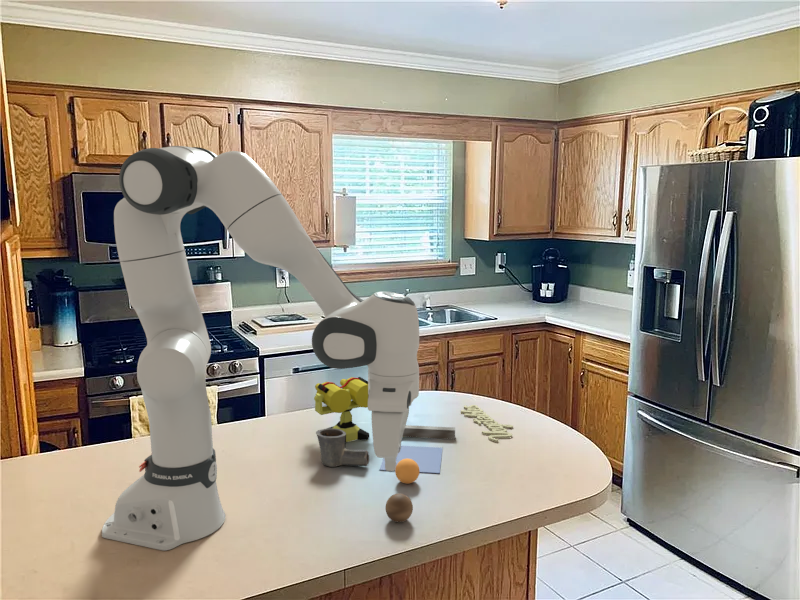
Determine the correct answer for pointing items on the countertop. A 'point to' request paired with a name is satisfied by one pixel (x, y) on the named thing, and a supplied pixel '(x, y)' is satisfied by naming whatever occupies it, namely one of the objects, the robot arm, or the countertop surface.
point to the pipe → (339, 449)
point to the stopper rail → (429, 432)
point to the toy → (343, 404)
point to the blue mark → (420, 458)
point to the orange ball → (407, 471)
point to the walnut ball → (399, 507)
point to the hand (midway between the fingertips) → (393, 460)
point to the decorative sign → (487, 423)
